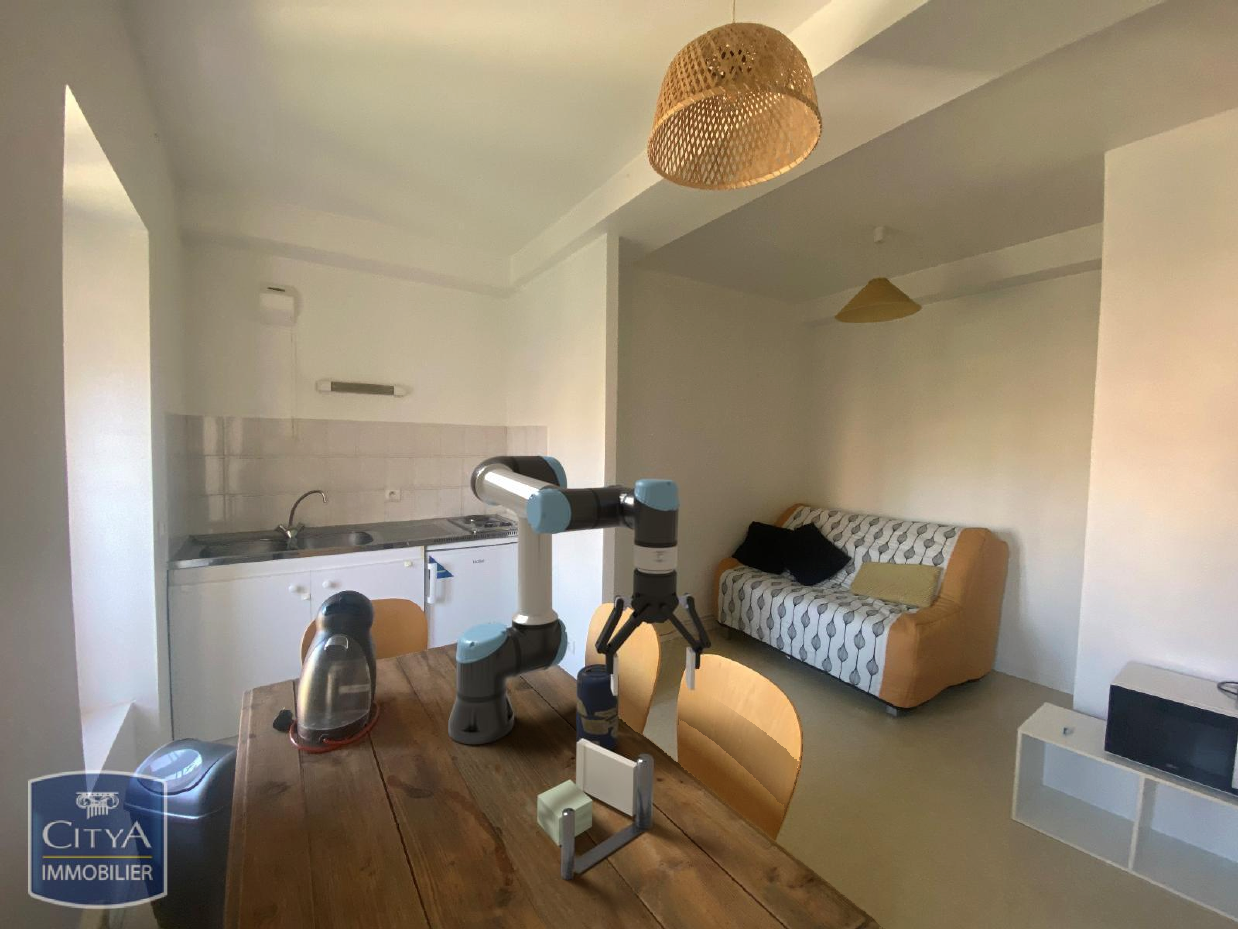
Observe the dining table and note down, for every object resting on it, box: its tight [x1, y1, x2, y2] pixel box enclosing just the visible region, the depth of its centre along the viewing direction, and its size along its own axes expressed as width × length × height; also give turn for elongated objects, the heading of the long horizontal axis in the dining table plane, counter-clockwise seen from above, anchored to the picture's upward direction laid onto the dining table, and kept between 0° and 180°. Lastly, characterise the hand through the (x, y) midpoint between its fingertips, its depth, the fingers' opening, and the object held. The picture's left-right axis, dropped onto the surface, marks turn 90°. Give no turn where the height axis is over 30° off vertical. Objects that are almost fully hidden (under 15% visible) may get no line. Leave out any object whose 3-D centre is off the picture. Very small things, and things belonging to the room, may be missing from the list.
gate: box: [575, 738, 637, 817], centre depth 94 cm, size 13×2×9 cm, turn 55°
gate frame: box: [560, 753, 655, 881], centre depth 84 cm, size 3×19×12 cm, turn 131°
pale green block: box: [536, 779, 593, 847], centre depth 89 cm, size 7×7×5 cm
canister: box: [575, 663, 620, 752], centre depth 112 cm, size 10×10×18 cm
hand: (652, 689), depth 87 cm, fingers open, 13 cm apart
